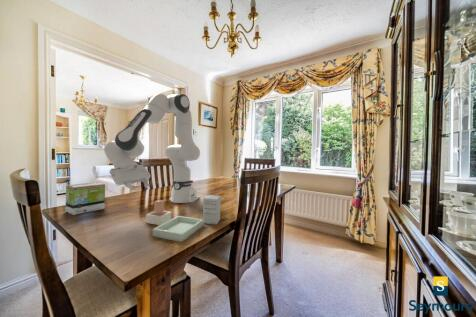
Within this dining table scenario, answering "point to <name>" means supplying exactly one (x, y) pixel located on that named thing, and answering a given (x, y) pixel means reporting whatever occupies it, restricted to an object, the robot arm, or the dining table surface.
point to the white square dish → (158, 218)
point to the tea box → (85, 197)
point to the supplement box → (211, 209)
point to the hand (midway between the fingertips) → (140, 187)
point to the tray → (178, 228)
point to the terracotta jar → (159, 207)
